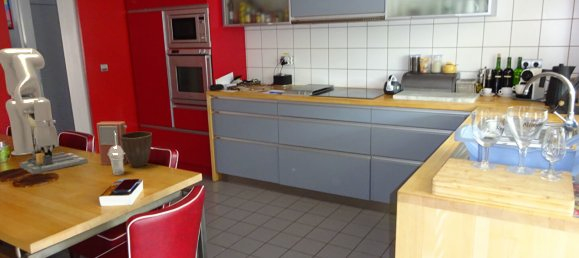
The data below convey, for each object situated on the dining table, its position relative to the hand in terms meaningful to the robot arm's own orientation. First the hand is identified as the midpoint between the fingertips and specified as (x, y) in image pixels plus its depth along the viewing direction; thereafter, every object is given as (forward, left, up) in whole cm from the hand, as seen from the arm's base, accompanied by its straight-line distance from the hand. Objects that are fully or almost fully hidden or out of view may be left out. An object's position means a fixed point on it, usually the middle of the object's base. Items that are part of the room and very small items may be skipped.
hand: (48, 158), depth 224 cm
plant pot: (+36, +30, -4) cm, 47 cm away
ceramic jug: (-62, +12, -4) cm, 63 cm away
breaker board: (0, +2, -4) cm, 4 cm away
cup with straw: (+41, +17, -4) cm, 45 cm away
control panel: (+22, +24, -4) cm, 33 cm away
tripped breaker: (0, -4, -1) cm, 4 cm away
